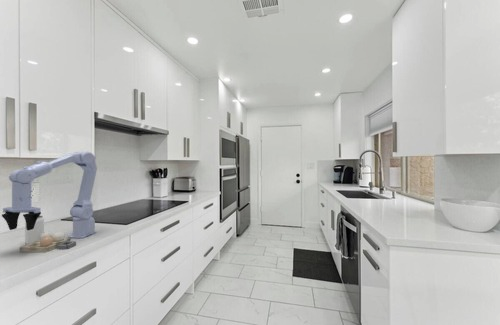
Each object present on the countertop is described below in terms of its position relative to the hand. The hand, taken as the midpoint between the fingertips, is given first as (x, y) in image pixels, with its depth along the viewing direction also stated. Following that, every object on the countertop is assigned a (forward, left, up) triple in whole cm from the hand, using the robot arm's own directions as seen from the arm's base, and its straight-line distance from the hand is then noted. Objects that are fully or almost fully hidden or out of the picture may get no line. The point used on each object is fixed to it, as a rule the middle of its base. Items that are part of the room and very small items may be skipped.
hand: (21, 229), depth 93 cm
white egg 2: (-10, +7, -6) cm, 14 cm away
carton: (-7, +4, -10) cm, 13 cm away
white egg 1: (-10, +1, -6) cm, 12 cm away
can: (-12, -7, -10) cm, 17 cm away
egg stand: (-7, +14, -10) cm, 18 cm away
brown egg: (-4, +7, -6) cm, 10 cm away
